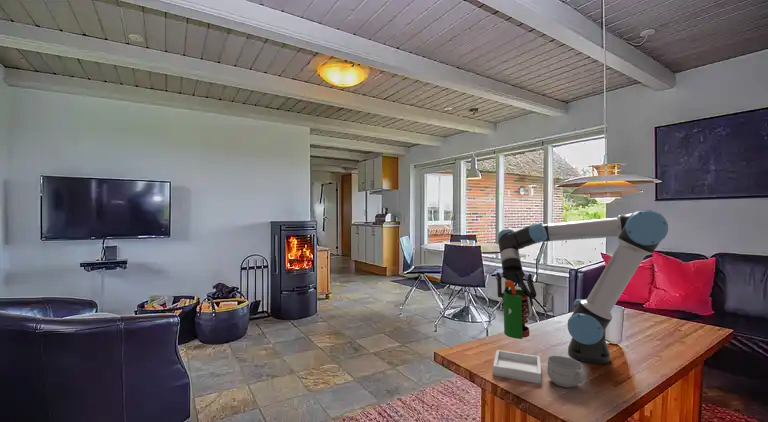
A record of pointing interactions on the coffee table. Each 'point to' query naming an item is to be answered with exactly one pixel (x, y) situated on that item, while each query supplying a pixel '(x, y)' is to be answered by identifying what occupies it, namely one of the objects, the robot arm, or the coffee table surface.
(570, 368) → the teacup
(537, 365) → the tray
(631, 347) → the coffee table surface
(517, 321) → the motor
